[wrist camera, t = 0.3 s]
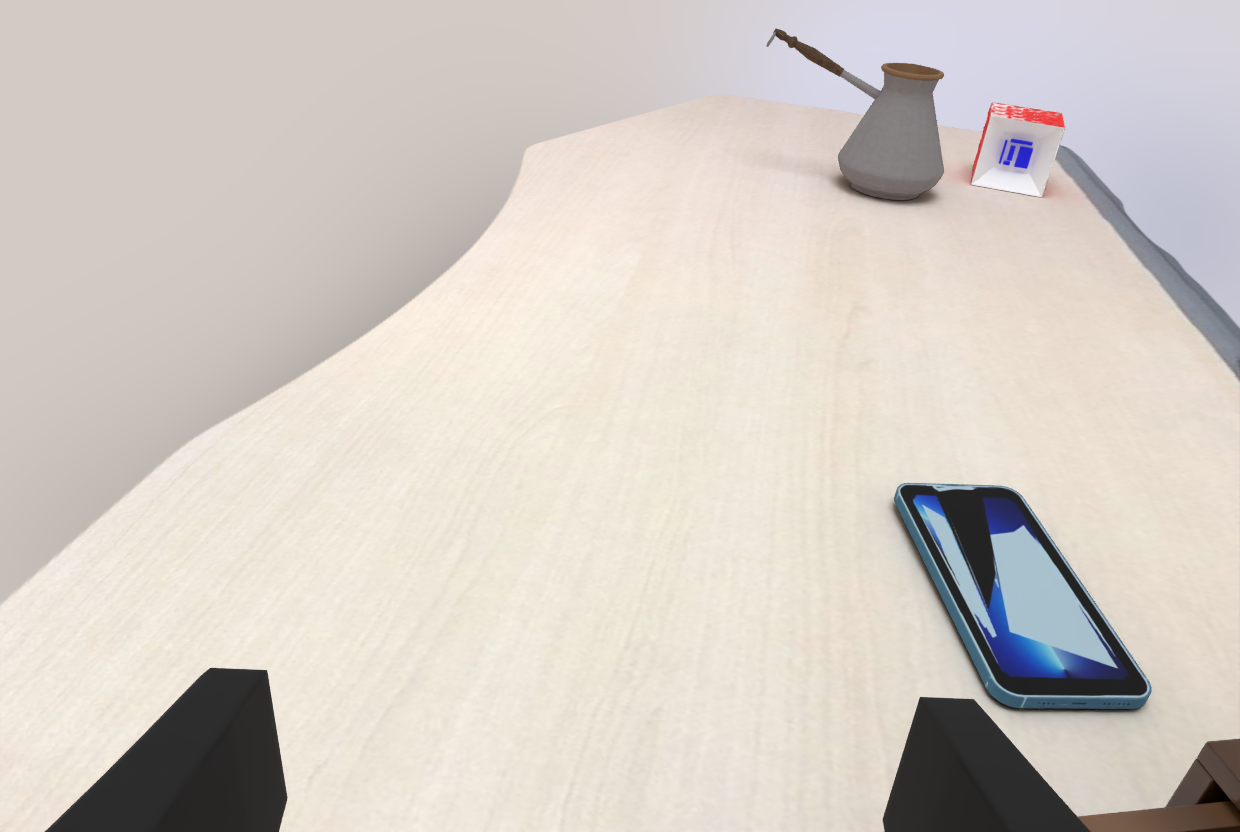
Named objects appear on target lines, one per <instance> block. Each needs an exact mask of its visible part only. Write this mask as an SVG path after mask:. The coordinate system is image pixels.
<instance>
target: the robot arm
mask: <svg viewBox="0 0 1240 832" xmlns="http://www.w3.org/2000/svg"><path fill="white" fill-rule="evenodd" d="M286 802H287V792H286V786H285V780H284V774H283V767H282V761H281V755H280V748H279V742H278V736H277V730H276V723H275V717H274V711H273V704H272V698H271V692H270V686H269V679H268V673H267V670H249V669H225V668H210V669H208V670H207V671H206V672H205V673H204V674H202V675H201V676H200V677H199V678H198V679H197V680H196V681H195V682H194V683H193V684H192V685H191V686H190V687H189V688H188V689H187V690H186V691H185V692H184V693H183V695H182V696H181V697H180V698H179V699H178V700H177V701H176V702H175V703H174V704H173V705H172V706H171V707H170V708H169V709H168V710H167V711H166V712H165V713H164V714H163V715H162V716H161V717H160V718H159V719H158V720H157V721H156V722H155V723H154V724H153V725H152V726H151V727H150V728H149V729H148V731H147V732H146V733H145V734H144V735H143V736H142V737H141V738H140V739H139V740H138V741H137V742H136V743H135V744H134V745H133V746H132V747H131V748H130V749H129V750H128V751H127V752H126V753H125V754H124V755H123V756H122V757H121V758H120V759H119V760H118V761H117V762H116V763H115V764H114V765H113V766H112V767H111V768H110V769H109V770H108V771H107V772H106V773H105V774H104V775H103V776H102V777H101V778H100V779H99V780H98V781H97V782H96V783H95V784H94V785H93V786H92V787H91V788H90V789H89V790H88V791H86V792H85V793H84V794H83V795H82V796H81V797H80V798H79V799H78V800H77V801H76V802H75V803H74V804H73V805H72V806H71V807H70V808H69V809H68V810H67V811H66V812H65V813H64V814H63V815H62V816H61V817H60V818H59V819H58V820H57V821H56V822H54V823H53V824H52V825H51V826H50V827H49V828H48V829H47V830H46V831H45V832H279V829H280V825H281V821H282V817H283V813H284V810H285V806H286ZM883 824H884V829H885V832H1091V831H1090V830H1089V829H1088V828H1087V827H1086V826H1085V825H1084V824H1083V823H1082V821H1081V820H1080V819H1079V818H1078V817H1077V816H1076V815H1075V814H1074V813H1073V811H1072V810H1071V809H1070V808H1069V807H1068V806H1067V805H1066V804H1065V802H1064V801H1063V800H1062V799H1061V798H1060V797H1059V796H1058V795H1057V793H1056V792H1055V791H1054V790H1053V789H1052V788H1051V787H1050V786H1049V784H1048V783H1047V782H1046V781H1045V780H1044V779H1043V778H1042V776H1041V775H1040V774H1039V773H1038V772H1037V771H1036V770H1035V768H1034V767H1033V766H1032V765H1031V764H1030V763H1029V762H1028V760H1027V759H1026V758H1025V757H1024V756H1023V755H1022V754H1021V752H1020V751H1019V750H1018V749H1017V748H1016V747H1015V746H1014V744H1013V743H1012V742H1011V741H1010V740H1009V739H1008V738H1007V736H1006V735H1005V734H1004V733H1003V732H1002V731H1001V729H1000V728H999V727H998V726H997V725H996V724H995V723H994V722H993V720H992V719H991V718H990V717H989V716H988V715H987V714H986V712H985V711H984V710H983V709H982V708H981V707H980V706H979V705H978V703H977V702H976V701H975V700H974V699H954V698H930V697H920V699H919V702H918V705H917V709H916V712H915V715H914V718H913V722H912V725H911V728H910V731H909V735H908V738H907V741H906V745H905V748H904V751H903V754H902V758H901V761H900V764H899V768H898V771H897V774H896V777H895V781H894V784H893V787H892V790H891V794H890V797H889V800H888V804H887V807H886V810H885V813H884V817H883Z"/></svg>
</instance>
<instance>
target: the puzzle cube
mask: <svg viewBox="0 0 1240 832" xmlns="http://www.w3.org/2000/svg"><path fill="white" fill-rule="evenodd" d="M1064 130H1065V126H1064V121H1063V116H1062V113H1057V112H1050V111H1044V110H1038V109H1031V108H1025V107H1018V106H1012V105H1006V104H999V103H991V108H990V109H989V112H988V117H987V121H986V124H985V126H984V130H983V134H982V138H981V141H980V144H979V148H978V153H977V155H976V158H975V161H974V165H973V173H972V180H971V185H976V186H981V187H987V188H993V189H998V190H1004V191H1009V192H1015V193H1020V194H1026V195H1032V196H1037V197H1042V196H1043V193H1044V190H1045V187H1046V184H1047V180H1048V177H1049V174H1050V171H1051V168H1052V165H1053V162H1054V159H1055V157H1056V154H1057V151H1058V148H1059V145H1060V142H1061V139H1062V136H1063V133H1064Z"/></svg>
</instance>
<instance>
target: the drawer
mask: <svg viewBox="0 0 1240 832" xmlns="http://www.w3.org/2000/svg"><path fill="white" fill-rule="evenodd" d="M1078 818H1079V819H1080V820H1081V821H1082V823H1083V824H1084V825H1085V826H1086V827H1087V828H1088V829H1089V830H1090V831H1091V832H1240V811H1239V810H1238V808H1237V807H1236V806H1235V805H1234V804H1233V802H1232V801H1226V802H1217V803H1207V804H1197V805H1187V806H1177V807H1167V808H1157V809H1148V810H1138V811H1128V812H1118V813H1108V814H1098V815H1089V816H1079V817H1078Z"/></svg>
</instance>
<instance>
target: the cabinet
mask: <svg viewBox="0 0 1240 832" xmlns="http://www.w3.org/2000/svg"><path fill="white" fill-rule="evenodd" d="M1226 801H1232V802H1233V804H1234V805H1235V806H1236V807H1237V808H1238V810H1239V811H1240V739H1232V740H1220V741H1209V742H1207V743H1206V744H1205V746H1204V747H1203V749H1202V750H1201V752H1200V753H1199V755H1198V757H1197V759H1196V760H1195V761H1194V763H1193V764H1192V766H1191V767H1190V769H1189V771H1188V772H1187V774H1186V775H1185V777H1184V778H1183V780H1182V782H1181V783H1180V785H1179V786H1178V788H1177V790H1176V791H1175V793H1174V794H1173V796H1172V797H1171V799H1170V801H1169V802H1168V804H1167V805H1166V807H1165V808H1167V807H1177V806H1187V805H1197V804H1207V803H1217V802H1226Z"/></svg>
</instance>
